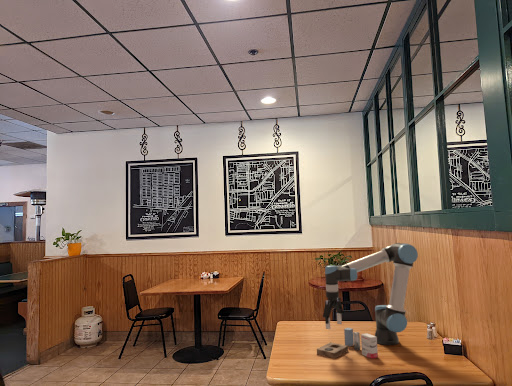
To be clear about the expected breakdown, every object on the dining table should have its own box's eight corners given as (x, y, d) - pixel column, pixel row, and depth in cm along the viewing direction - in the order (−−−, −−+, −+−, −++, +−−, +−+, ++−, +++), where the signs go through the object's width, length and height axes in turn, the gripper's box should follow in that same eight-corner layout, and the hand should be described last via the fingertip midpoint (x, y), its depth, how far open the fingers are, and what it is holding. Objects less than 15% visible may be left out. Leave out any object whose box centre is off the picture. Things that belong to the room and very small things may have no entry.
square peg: (353, 344, 236) (352, 328, 237) (350, 346, 233) (349, 330, 234) (348, 343, 238) (347, 327, 239) (344, 345, 235) (344, 329, 236)
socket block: (348, 351, 224) (347, 345, 224) (334, 358, 212) (334, 353, 213) (330, 347, 232) (330, 342, 232) (316, 354, 220) (316, 348, 221)
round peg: (361, 349, 227) (360, 332, 228) (358, 350, 224) (357, 333, 225) (355, 348, 229) (355, 331, 230) (353, 349, 226) (352, 332, 227)
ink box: (378, 357, 212) (377, 336, 213) (371, 359, 210) (370, 337, 211) (367, 353, 220) (366, 332, 221) (361, 354, 218) (360, 334, 219)
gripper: (337, 287, 240) (338, 321, 238) (315, 293, 221) (317, 330, 219) (347, 288, 235) (349, 322, 233) (326, 294, 216) (328, 332, 214)
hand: (333, 326), depth 226 cm, fingers open, 13 cm apart
